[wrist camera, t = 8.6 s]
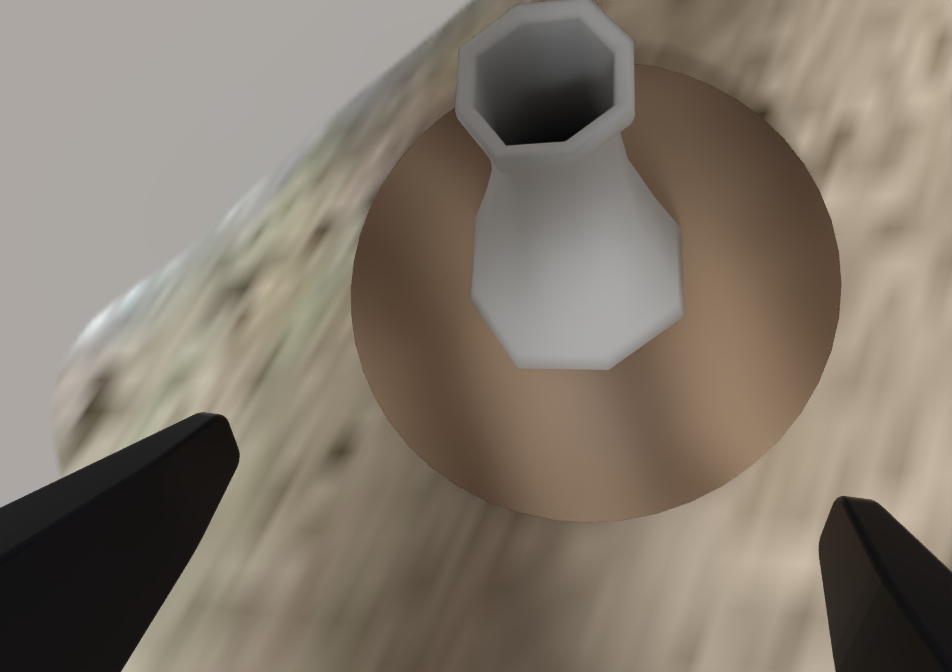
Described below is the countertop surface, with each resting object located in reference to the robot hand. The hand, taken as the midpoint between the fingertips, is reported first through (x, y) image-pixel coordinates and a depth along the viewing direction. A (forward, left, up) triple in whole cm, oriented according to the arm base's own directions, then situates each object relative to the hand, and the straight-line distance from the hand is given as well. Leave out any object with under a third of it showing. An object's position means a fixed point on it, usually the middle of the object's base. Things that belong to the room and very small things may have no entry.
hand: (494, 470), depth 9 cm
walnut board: (+4, +5, -11) cm, 13 cm away
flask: (+4, +5, -10) cm, 12 cm away
